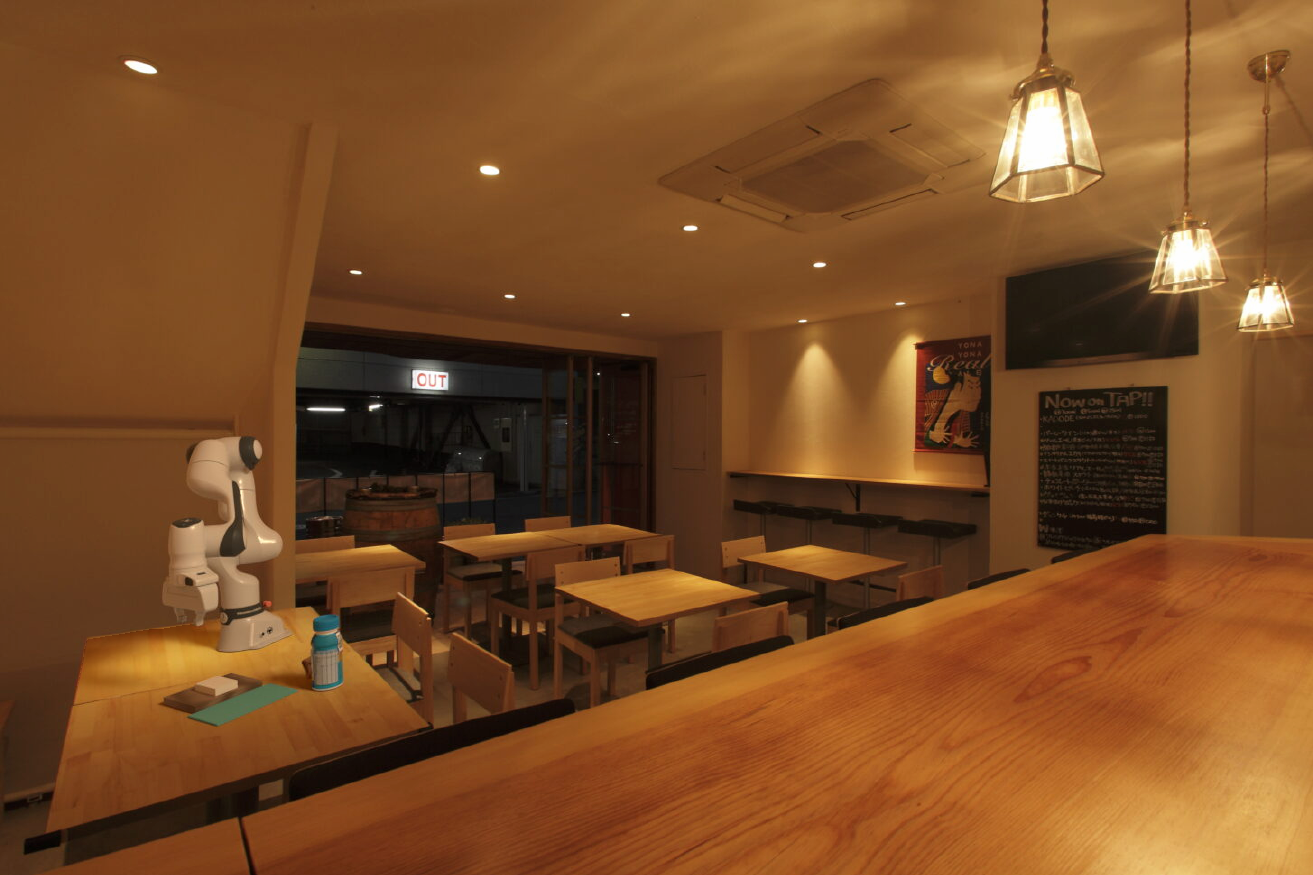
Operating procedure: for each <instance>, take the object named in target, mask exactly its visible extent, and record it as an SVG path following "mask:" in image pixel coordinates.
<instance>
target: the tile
mask: <svg viewBox="0 0 1313 875" xmlns="http://www.w3.org/2000/svg"><path fill="white" fill-rule="evenodd" d="M221 676H222V675H221ZM221 676H220V675H215V676H212V677H209V678H207V679H204V680H202V681H199V682H196V683H194V686H195V691H198V692H201V693H205V694H209V695H212V696H218V695H220V694H223V693H225V692H228V691H230V690H233V689H236V688H238V681H237V680H233V679H229V678H225V677H221Z"/></svg>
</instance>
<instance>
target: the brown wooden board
mask: <svg viewBox="0 0 1313 875" xmlns="http://www.w3.org/2000/svg"><path fill="white" fill-rule="evenodd" d="M221 677H225V678H229V679H233V680H237V681H238V688H236V689H233V690H230V691H228V692H225V693H223V694H220V695H218V696H212V695H209V694H205V693H201V692H198V691H195V685H193V686H191V687H188V688H185V689H182V690H180V691H177V692H174V693H171V694H169V695H167V696H164V697H163V705H164V706H165V707H166V706H167V707H170V708H174V709H178V710H181V711H184V712H186V713H191V714H194V713H196V712H199V711H201V710H204V709H206V708H208V707H211V706H213V705H216V704H218V703H221V702H223V701H226V700H228V699H231V698H233V697H236V696H238V695H241V694H243V693H246V692H248V691H251V690H253V689H256V688H258V687H261V686H263V680H262V679H258V678H254V677H250V676H246V675H242V674H237V673H234V672H229V673H227V674H224V675H221Z"/></svg>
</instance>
